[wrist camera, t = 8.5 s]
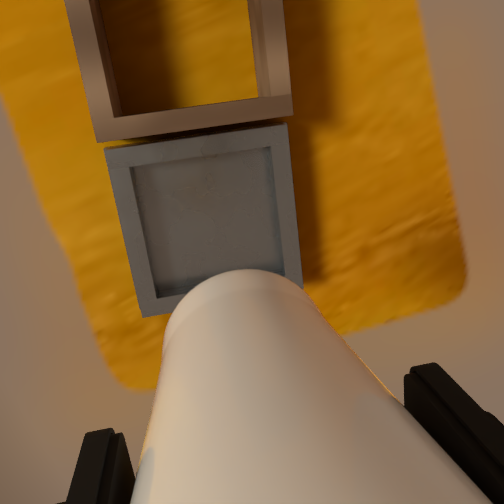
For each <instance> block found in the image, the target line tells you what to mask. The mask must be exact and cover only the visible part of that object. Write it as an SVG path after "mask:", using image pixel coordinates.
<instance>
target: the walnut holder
mask: <svg viewBox="0 0 504 504" xmlns="http://www.w3.org/2000/svg"><path fill="white" fill-rule="evenodd" d="M64 2H65V6H66V10H67V15H68V19H69V23H70V28H71V32H72V36H73V41H74V45H75V49H76V54H77V58H78V62H79V67H80V71H81V75H82V80H83V84H84V88H85V93H86V97H87V102H88V106H89V110H90V115H91V119H92V123H93V128H94V132H95V136H96V141H97V143H100V142H107V141H114V140H121V139H128V138H135V137H142V136H149V135H156V134H164V133H171V132H178V131H185V130H192V129H199V128H206V127H213V126H220V125H227V124H234V123H241V122H249V121H256V120H263V119H270V118H277V117H284V116H291V115H293V104H292V94H291V83H290V73H289V62H288V52H287V41H286V31H285V20H284V10H283V0H247V2H248V10H249V19H250V27H251V36H252V44H253V53H254V61H255V70H256V79H257V87H258V96H259V97H258V98H251V99H243V100H236V101H229V102H221V103H214V104H207V105H199V106H192V107H185V108H177V109H170V110H163V111H155V112H148V113H141V114H133V115H126V116H123V114H122V109H121V105H120V100H119V95H118V90H117V85H116V81H115V76H114V71H113V66H112V61H111V57H110V52H109V47H108V42H107V37H106V33H105V28H104V23H103V18H102V13H101V9H100V4H99V0H64Z"/></svg>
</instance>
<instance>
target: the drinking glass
mask: <svg viewBox="0 0 504 504" xmlns="http://www.w3.org/2000/svg"><path fill="white" fill-rule="evenodd" d="M130 504H493V502H492V501H491V500H490V499H489V498H488V497H487V496H486V495H485V494H484V493H483V492H482V490H481V489H480V488H479V487H478V486H477V485H476V484H475V483H474V482H473V481H472V480H471V479H470V477H469V476H468V475H467V474H466V473H465V472H464V471H463V470H462V469H461V468H460V467H459V465H458V464H457V463H456V462H455V461H454V460H453V459H452V458H451V457H450V456H449V455H448V454H447V452H446V451H445V450H444V449H443V448H442V447H441V446H440V445H439V444H438V443H437V442H436V441H435V439H434V438H433V437H432V436H431V435H430V434H429V433H428V432H427V431H426V430H425V429H424V427H423V426H422V425H421V424H420V423H419V422H418V421H417V420H416V419H415V418H414V417H413V416H412V414H411V413H410V412H409V411H408V410H407V409H406V408H405V407H404V406H403V405H402V404H401V403H400V401H399V400H398V399H397V398H396V397H395V396H394V395H393V394H392V393H391V392H390V390H389V389H388V388H387V387H386V386H385V385H384V384H383V383H382V382H381V381H380V380H379V378H378V377H377V376H376V375H375V374H374V373H373V372H372V371H371V370H370V369H369V368H368V366H367V365H366V364H365V363H364V362H363V361H362V360H361V359H360V357H359V356H358V355H357V354H356V353H355V352H354V351H353V350H352V349H351V348H350V346H349V345H348V344H347V343H346V342H345V341H344V340H343V339H342V338H341V336H340V335H339V334H338V333H337V332H336V331H335V330H334V329H333V327H332V326H331V325H330V324H329V323H328V322H327V321H326V319H325V318H324V317H323V315H322V313H321V312H320V310H319V309H318V307H317V306H316V304H315V303H314V302H313V300H312V299H311V298H310V297H309V295H308V294H307V293H306V292H305V291H304V290H303V289H302V288H300V287H299V286H298V285H297V284H295V283H294V282H292V281H291V280H289V279H287V278H285V277H283V276H281V275H278V274H276V273H273V272H269V271H265V270H259V269H238V270H232V271H227V272H224V273H220V274H217V275H215V276H213V277H210V278H208V279H207V280H205V281H203V282H201V283H200V284H198V285H197V286H196V287H194V288H193V289H192V290H191V291H189V292H188V293H187V294H186V295H185V296H184V298H183V299H182V300H181V301H180V302H179V304H178V305H177V306H176V308H175V309H174V311H173V313H172V315H171V317H170V319H169V321H168V324H167V327H166V330H165V334H164V339H163V348H162V361H161V368H160V373H159V377H158V382H157V387H156V391H155V396H154V400H153V405H152V409H151V413H150V418H149V422H148V427H147V431H146V435H145V440H144V444H143V448H142V453H141V457H140V461H139V466H138V470H137V474H136V478H135V483H134V487H133V491H132V495H131V499H130Z"/></svg>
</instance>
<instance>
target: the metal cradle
mask: <svg viewBox="0 0 504 504" xmlns="http://www.w3.org/2000/svg"><path fill="white" fill-rule="evenodd" d="M104 153H105V158H106V162H107V166H108V171H109V175H110V180H111V184H112V189H113V193H114V197H115V202H116V206H117V211H118V215H119V219H120V224H121V228H122V233H123V237H124V242H125V246H126V250H127V255H128V259H129V264H130V268H131V272H132V277H133V281H134V286H135V290H136V294H137V299H138V303H139V308H140V309H141V313H142V317H143V318H144V317H150V316H155V315H161V314H166V313H172V312H173V311H174V309H175V308H176V306H177V305H178V304H179V302H180V301H181V300H182V299H183V298H184V296H185V295H186V294H187V293H188V292H189V291H191V290H192V289H193V288H194V287H196V286H197V285H198V284H200V283H201V282H203V281H205V280H207V279H208V278H210V277H213V276H215V275H217V274H220V273H224V272H227V271H232V270H238V269H259V270H265V271H269V272H273V273H276V274H278V275H281V276H283V277H285V278H287V279H289V280H291V281H292V282H294V283H295V284H297V285H298V286H299V287H300V288H302V289H304V288H303V278H302V268H301V258H300V248H299V238H298V228H297V218H296V208H295V198H294V188H293V178H292V168H291V158H290V148H289V138H288V128H287V123H286V122H280V123H273V124H266V125H259V126H252V127H245V128H238V129H231V130H224V131H217V132H209V133H202V134H195V135H188V136H181V137H174V138H167V139H160V140H153V141H146V142H139V143H132V144H125V145H118V146H111V147H105V148H104Z"/></svg>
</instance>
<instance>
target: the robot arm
mask: <svg viewBox="0 0 504 504" xmlns="http://www.w3.org/2000/svg"><path fill="white" fill-rule="evenodd" d="M404 407H405V408H406V409H407V410H408V411H409V412H410V413H411V414H412V416H413V417H414V418H415V419H416V420H417V421H418V422H419V423H420V424H421V425H422V426H423V427H424V429H425V430H426V431H427V432H428V433H429V434H430V435H431V436H432V437H433V438H434V439H435V441H436V442H437V443H438V444H439V445H440V446H441V447H442V448H443V449H444V450H445V451H446V452H447V454H448V455H449V456H450V457H451V458H452V459H453V460H454V461H455V462H456V463H457V464H458V465H459V467H460V468H461V469H462V470H463V471H464V472H465V473H466V474H467V475H468V476H469V477H470V479H471V480H472V481H473V482H474V483H475V484H476V485H477V486H478V487H479V488H480V489H481V490H482V492H483V493H484V494H485V495H486V496H487V497H488V498H489V499H490V500H491V501H492V502H493V504H504V425H503V424H502V423H501V422H500V421H499V420H498V419H497V418H496V417H495V416H493V415H492V414H491V413H489V412H486V411H484V410H483V409H482V408H481V407H480V406H479V405H478V404H477V403H476V402H475V401H474V400H473V399H472V398H471V397H470V396H469V395H468V394H467V393H466V392H465V391H464V390H463V389H462V388H461V387H460V386H459V385H458V384H457V383H456V382H455V381H454V380H453V379H452V378H451V377H450V376H449V375H448V374H447V373H446V372H445V371H444V370H443V369H442V368H441V367H440V366H439V365H438V364H437V363H429V364H423V365H418V366H414V367H411V369H410V374H406V375H405V376H404ZM134 483H135V476H134V472H133V468H132V465H131V461H130V457H129V453H128V449H127V446H126V442H125V438H124V435H123V433H117V434H115V432H114V430H113V428H107V429H102V430H97V431H92V432H87V433H86V434H85V436H84V439H83V443H82V446H81V450H80V454H79V457H78V461H77V464H76V468H75V472H74V475H73V478H72V482H71V486H70V489H69V493H68V496H67V500H66V502H62V503H57V504H130V499H131V495H132V491H133V487H134Z"/></svg>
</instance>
